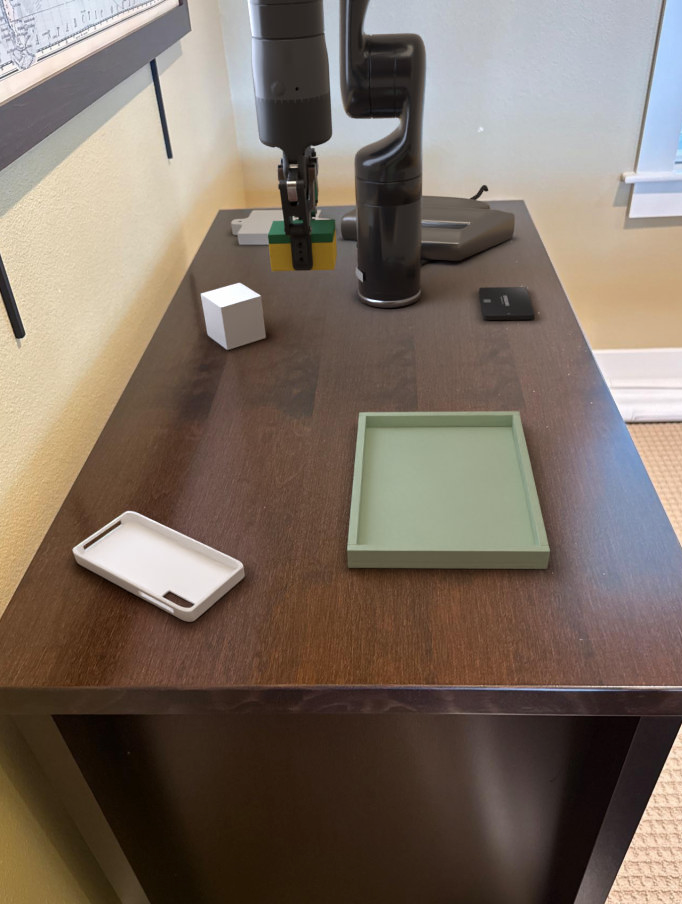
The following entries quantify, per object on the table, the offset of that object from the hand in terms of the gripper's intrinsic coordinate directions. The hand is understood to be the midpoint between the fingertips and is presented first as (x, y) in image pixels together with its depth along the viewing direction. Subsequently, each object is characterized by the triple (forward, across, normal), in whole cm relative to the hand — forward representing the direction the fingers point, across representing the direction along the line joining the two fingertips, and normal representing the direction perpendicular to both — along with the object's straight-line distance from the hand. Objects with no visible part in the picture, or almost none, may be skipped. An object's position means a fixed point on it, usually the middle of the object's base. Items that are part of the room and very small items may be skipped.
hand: (305, 259), depth 87 cm
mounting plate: (+15, +56, +11) cm, 59 cm away
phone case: (+15, -35, +11) cm, 40 cm away
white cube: (+15, +13, +12) cm, 23 cm away
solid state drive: (+15, +21, -26) cm, 37 cm away
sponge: (0, 0, 0) cm, 0 cm away
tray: (+15, -23, -15) cm, 31 cm away
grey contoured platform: (+15, +51, -15) cm, 55 cm away
